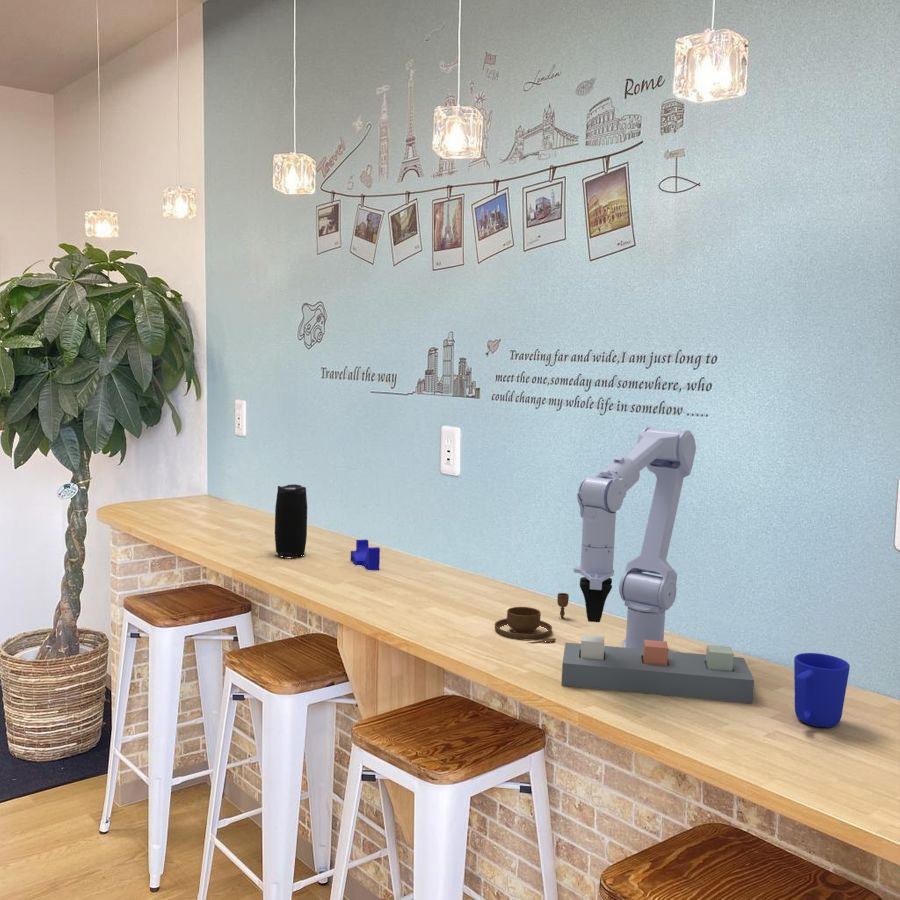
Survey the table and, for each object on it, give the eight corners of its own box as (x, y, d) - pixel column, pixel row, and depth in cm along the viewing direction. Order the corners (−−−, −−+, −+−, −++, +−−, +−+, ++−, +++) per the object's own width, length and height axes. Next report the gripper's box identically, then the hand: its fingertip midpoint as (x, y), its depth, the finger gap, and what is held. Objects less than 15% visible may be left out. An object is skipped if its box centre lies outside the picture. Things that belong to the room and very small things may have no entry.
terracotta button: (642, 661, 163) (643, 639, 162) (665, 663, 162) (666, 641, 162) (643, 668, 159) (644, 646, 158) (666, 670, 158) (668, 648, 158)
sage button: (705, 666, 161) (707, 644, 161) (729, 668, 160) (730, 646, 160) (708, 674, 157) (709, 651, 157) (732, 676, 156) (733, 653, 156)
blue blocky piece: (350, 561, 248) (351, 540, 248) (366, 560, 250) (366, 539, 250) (362, 571, 237) (363, 549, 237) (379, 570, 239) (379, 548, 238)
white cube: (580, 655, 165) (582, 634, 164) (603, 657, 164) (604, 636, 164) (580, 662, 161) (581, 640, 160) (603, 664, 160) (604, 642, 160)
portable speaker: (271, 558, 248) (272, 487, 246) (279, 551, 257) (280, 483, 255) (302, 560, 247) (303, 489, 245) (309, 552, 257) (310, 484, 255)
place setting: (480, 623, 195) (481, 596, 195) (563, 617, 202) (564, 591, 201) (513, 648, 179) (514, 619, 178) (602, 641, 186) (604, 613, 185)
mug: (769, 726, 143) (774, 664, 142) (803, 707, 151) (807, 649, 150) (821, 743, 137) (826, 678, 136) (853, 722, 145) (858, 662, 144)
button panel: (564, 663, 169) (565, 642, 169) (742, 679, 164) (743, 657, 164) (561, 685, 158) (562, 663, 157) (752, 703, 152) (754, 680, 152)
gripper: (576, 535, 168) (572, 607, 169) (573, 551, 154) (569, 629, 155) (615, 538, 167) (611, 610, 168) (615, 554, 153) (611, 633, 154)
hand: (593, 619), depth 162 cm, fingers closed
